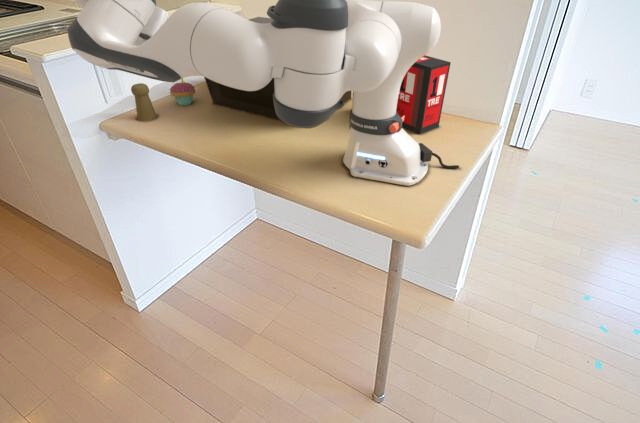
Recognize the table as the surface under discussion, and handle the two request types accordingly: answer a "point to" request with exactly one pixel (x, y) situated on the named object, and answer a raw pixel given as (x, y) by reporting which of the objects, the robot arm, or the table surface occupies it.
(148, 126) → the table surface
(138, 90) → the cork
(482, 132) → the table surface
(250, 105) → the oven door
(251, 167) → the table surface
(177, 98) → the cupcake
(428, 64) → the cleaning product box
